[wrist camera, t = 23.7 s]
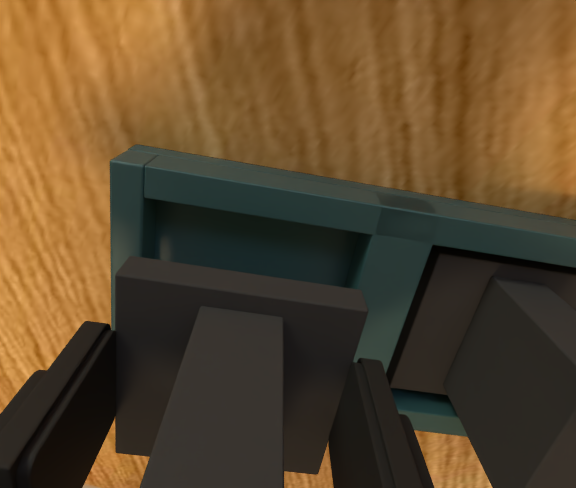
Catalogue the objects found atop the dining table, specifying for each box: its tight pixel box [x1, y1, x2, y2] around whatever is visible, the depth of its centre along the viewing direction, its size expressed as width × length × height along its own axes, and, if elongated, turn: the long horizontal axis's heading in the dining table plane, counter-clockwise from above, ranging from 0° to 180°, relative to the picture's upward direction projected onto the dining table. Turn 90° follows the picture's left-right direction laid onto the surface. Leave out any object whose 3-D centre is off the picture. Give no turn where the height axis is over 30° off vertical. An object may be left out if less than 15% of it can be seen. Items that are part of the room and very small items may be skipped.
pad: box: [115, 256, 369, 488], centre depth 9 cm, size 6×6×6 cm
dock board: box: [110, 145, 576, 437], centre depth 15 cm, size 18×9×2 cm, turn 80°
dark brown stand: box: [386, 245, 576, 488], centre depth 13 cm, size 6×6×6 cm
